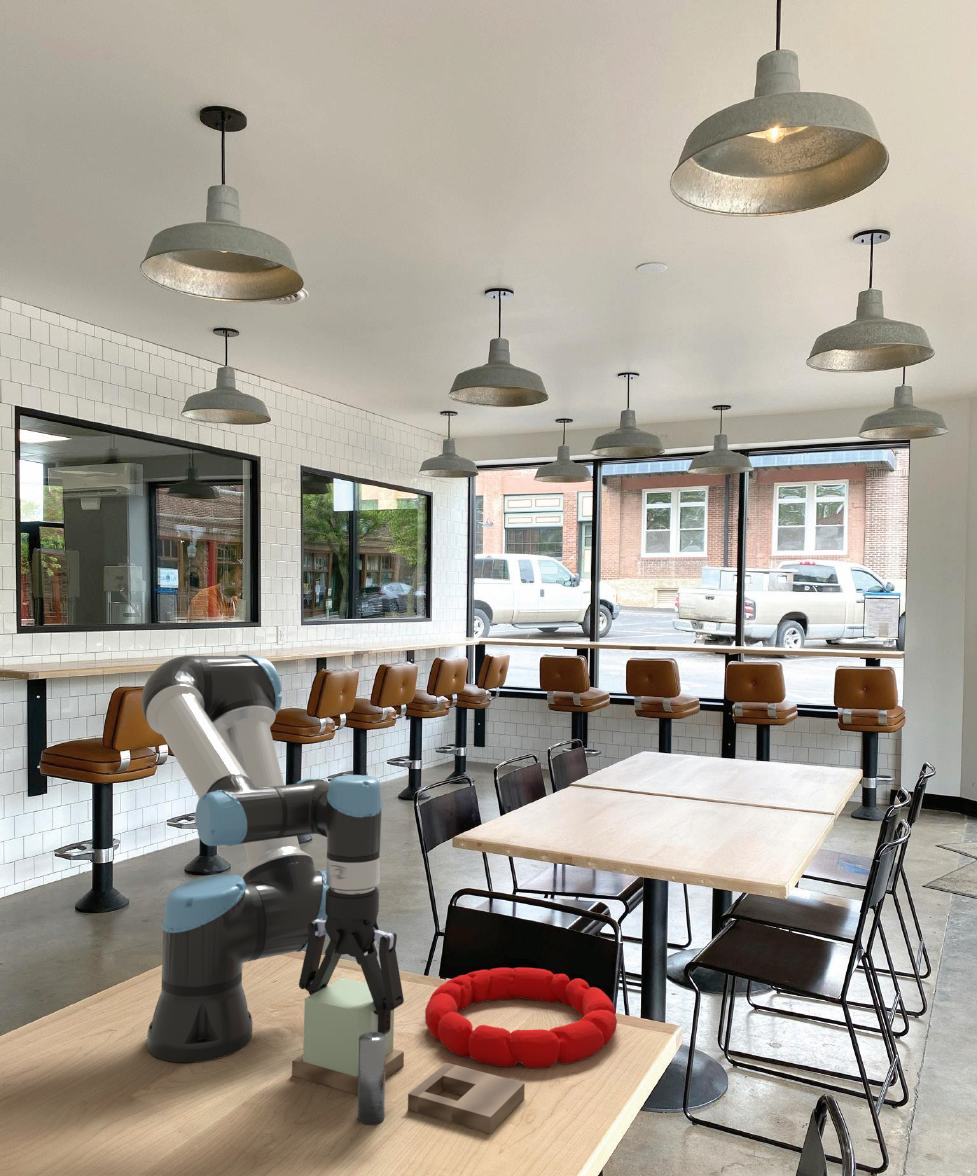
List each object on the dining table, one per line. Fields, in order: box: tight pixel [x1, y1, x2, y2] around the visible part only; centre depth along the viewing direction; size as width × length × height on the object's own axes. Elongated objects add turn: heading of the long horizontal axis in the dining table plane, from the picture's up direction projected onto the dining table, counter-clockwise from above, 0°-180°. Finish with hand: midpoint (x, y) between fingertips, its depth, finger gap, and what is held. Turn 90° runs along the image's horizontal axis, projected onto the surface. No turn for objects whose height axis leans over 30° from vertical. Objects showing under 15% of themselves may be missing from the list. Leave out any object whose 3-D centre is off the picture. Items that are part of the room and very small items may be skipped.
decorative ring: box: [424, 967, 618, 1069], centre depth 146 cm, size 7×30×30 cm
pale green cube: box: [302, 977, 395, 1077], centre depth 131 cm, size 9×9×9 cm
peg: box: [357, 1032, 386, 1126], centre depth 118 cm, size 3×3×10 cm
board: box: [291, 1048, 405, 1096], centre depth 130 cm, size 12×10×7 cm
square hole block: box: [407, 1062, 526, 1134], centre depth 122 cm, size 12×10×2 cm
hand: (348, 1048), depth 130 cm, fingers closed on pale green cube, 9 cm apart
